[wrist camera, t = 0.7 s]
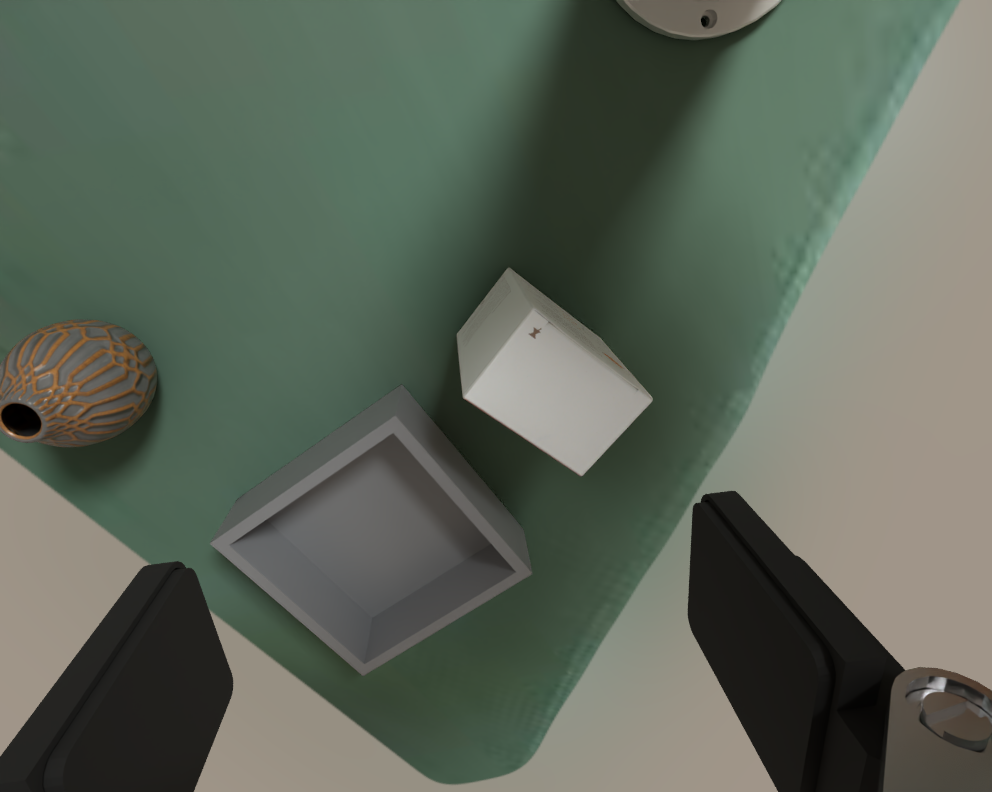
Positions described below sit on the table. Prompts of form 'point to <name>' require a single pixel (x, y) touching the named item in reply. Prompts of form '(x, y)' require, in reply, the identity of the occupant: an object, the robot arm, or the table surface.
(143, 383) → the vase
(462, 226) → the table surface
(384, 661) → the bin
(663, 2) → the robot arm
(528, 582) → the table surface
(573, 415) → the small box
